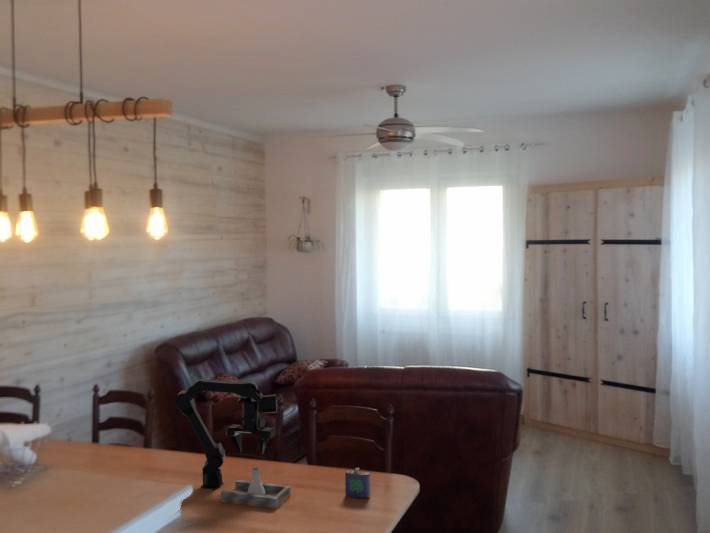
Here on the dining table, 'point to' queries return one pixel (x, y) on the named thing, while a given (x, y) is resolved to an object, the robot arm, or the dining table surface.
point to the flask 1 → (256, 483)
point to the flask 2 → (357, 484)
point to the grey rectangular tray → (271, 500)
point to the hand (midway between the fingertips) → (251, 453)
